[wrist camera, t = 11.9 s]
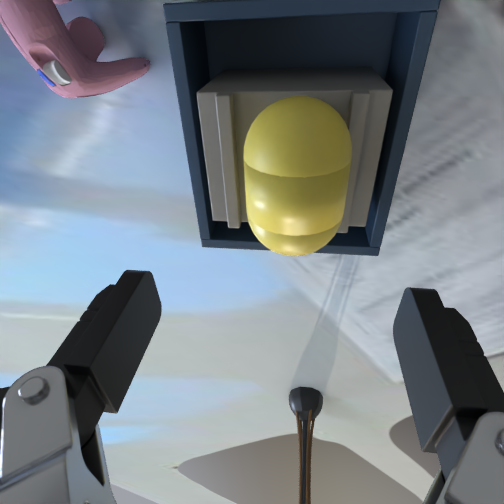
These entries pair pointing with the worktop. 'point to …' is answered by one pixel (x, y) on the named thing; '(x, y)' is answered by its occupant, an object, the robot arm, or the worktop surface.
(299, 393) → the wooden tabletop sculpture
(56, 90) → the video game controller
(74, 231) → the worktop surface
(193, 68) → the crate
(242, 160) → the block
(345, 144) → the yellow capsule
